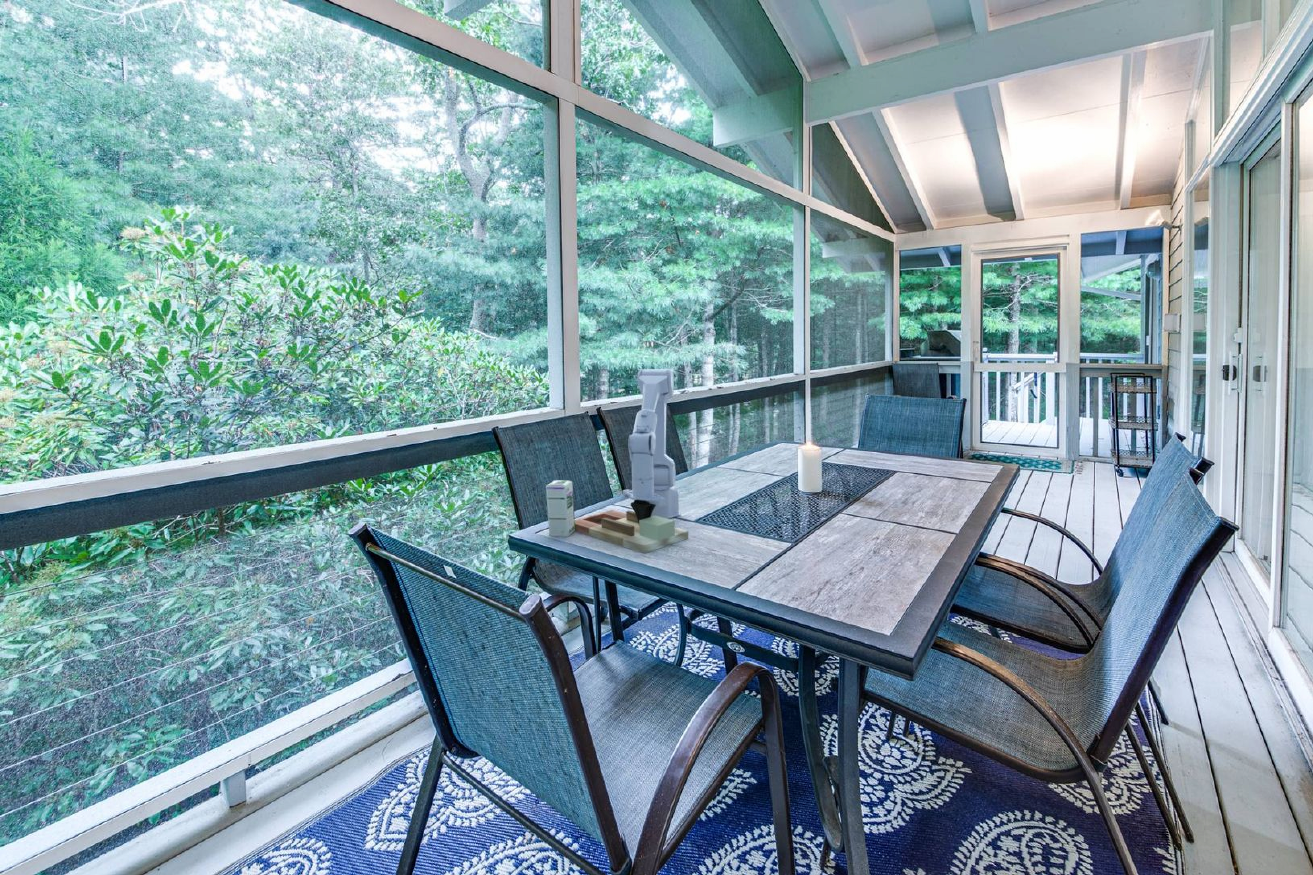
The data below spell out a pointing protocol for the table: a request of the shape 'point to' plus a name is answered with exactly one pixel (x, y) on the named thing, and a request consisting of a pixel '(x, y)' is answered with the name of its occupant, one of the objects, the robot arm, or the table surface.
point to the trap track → (623, 531)
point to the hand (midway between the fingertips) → (644, 527)
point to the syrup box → (560, 508)
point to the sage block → (657, 528)
